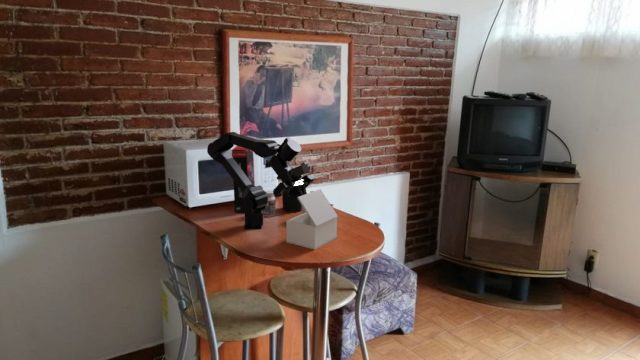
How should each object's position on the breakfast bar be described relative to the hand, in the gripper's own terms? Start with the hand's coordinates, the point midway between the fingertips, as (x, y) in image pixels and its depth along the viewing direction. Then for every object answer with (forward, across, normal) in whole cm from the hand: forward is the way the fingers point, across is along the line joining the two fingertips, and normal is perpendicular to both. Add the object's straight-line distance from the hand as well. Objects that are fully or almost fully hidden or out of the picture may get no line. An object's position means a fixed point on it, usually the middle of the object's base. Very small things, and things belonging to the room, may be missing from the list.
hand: (308, 204), depth 168 cm
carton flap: (+3, 0, -2) cm, 4 cm away
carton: (+10, 0, +8) cm, 13 cm away
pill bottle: (-12, +15, +31) cm, 36 cm away
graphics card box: (-23, +18, +42) cm, 51 cm away
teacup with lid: (+1, +22, +18) cm, 29 cm away
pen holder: (-10, +27, +28) cm, 41 cm away
